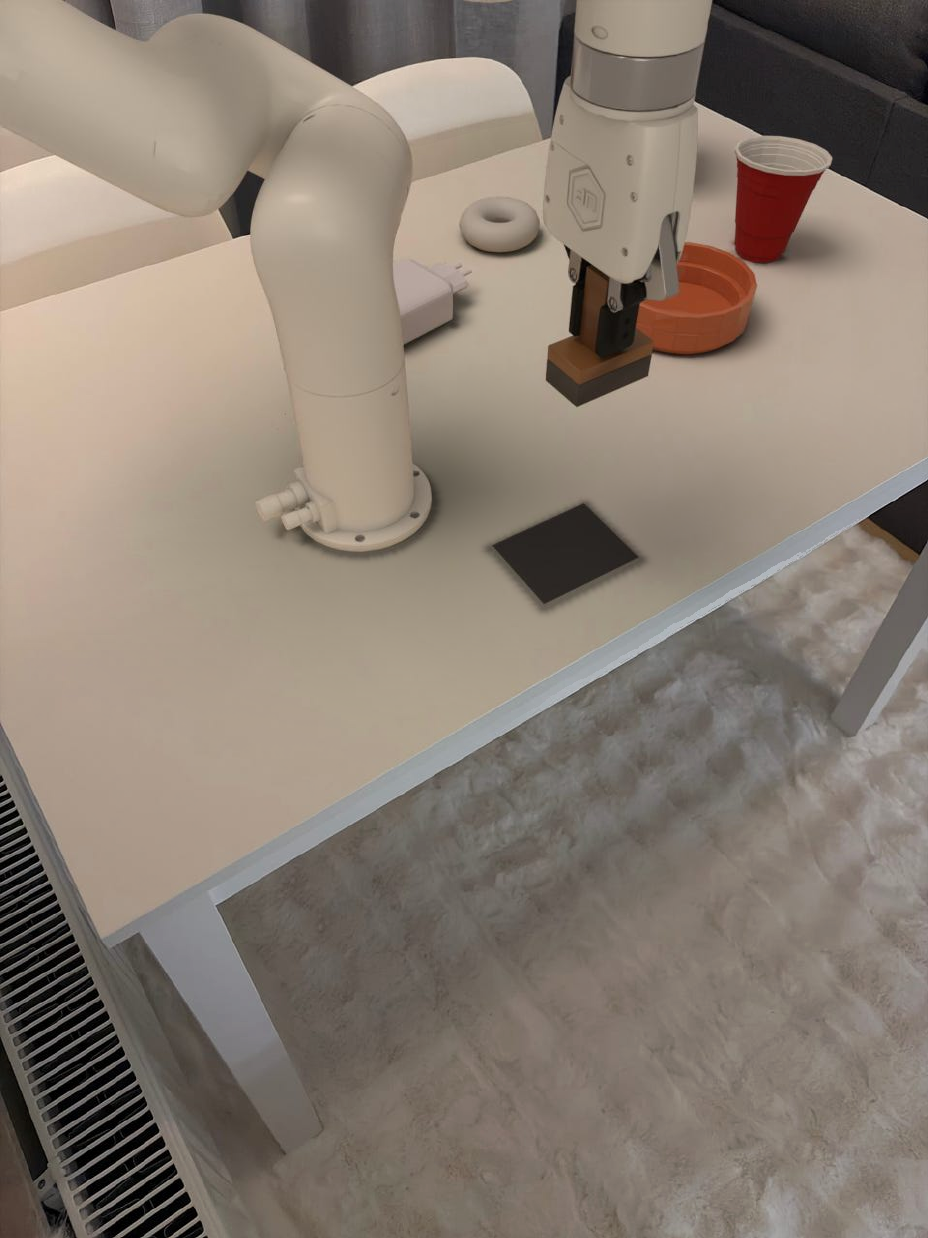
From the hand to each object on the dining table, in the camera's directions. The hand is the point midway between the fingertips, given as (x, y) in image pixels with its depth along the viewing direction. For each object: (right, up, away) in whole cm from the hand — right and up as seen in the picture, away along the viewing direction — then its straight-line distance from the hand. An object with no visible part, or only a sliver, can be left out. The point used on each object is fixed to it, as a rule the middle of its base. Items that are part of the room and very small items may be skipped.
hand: (600, 337), depth 68 cm
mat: (-1, -15, +12) cm, 19 cm away
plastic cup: (+26, +24, +44) cm, 57 cm away
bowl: (+14, +13, +35) cm, 40 cm away
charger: (-16, +14, +37) cm, 42 cm away
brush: (0, -2, +3) cm, 4 cm away
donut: (-6, +27, +47) cm, 54 cm away
